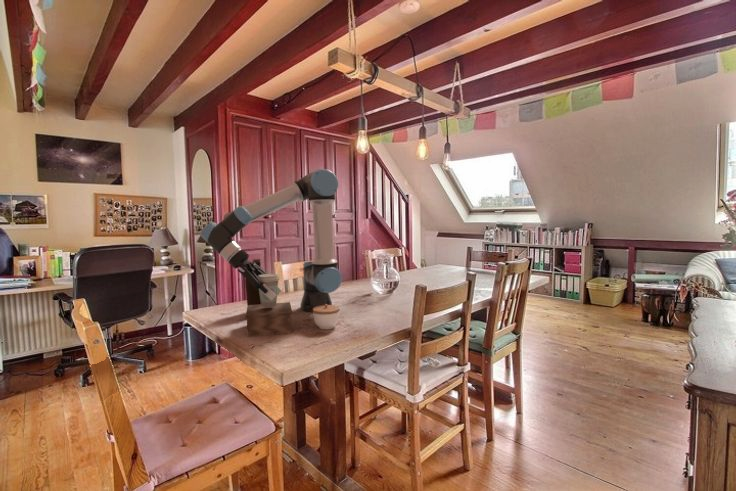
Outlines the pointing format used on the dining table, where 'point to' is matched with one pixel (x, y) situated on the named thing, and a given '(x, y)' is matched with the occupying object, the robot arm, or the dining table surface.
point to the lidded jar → (326, 316)
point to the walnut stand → (268, 319)
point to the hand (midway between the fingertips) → (277, 295)
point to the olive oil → (253, 290)
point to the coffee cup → (272, 284)
